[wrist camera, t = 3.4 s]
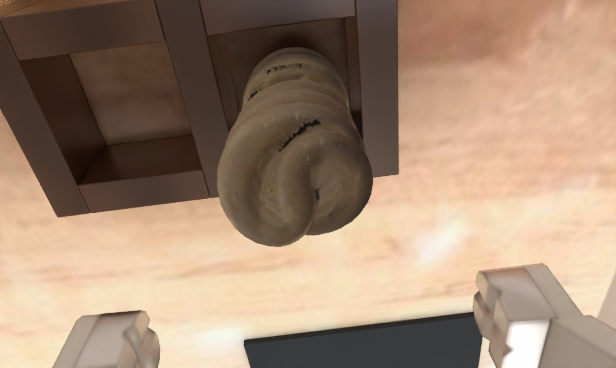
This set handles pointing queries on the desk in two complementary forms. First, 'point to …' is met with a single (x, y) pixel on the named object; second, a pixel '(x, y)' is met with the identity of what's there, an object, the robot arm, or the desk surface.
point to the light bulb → (293, 153)
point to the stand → (192, 82)
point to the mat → (375, 346)
